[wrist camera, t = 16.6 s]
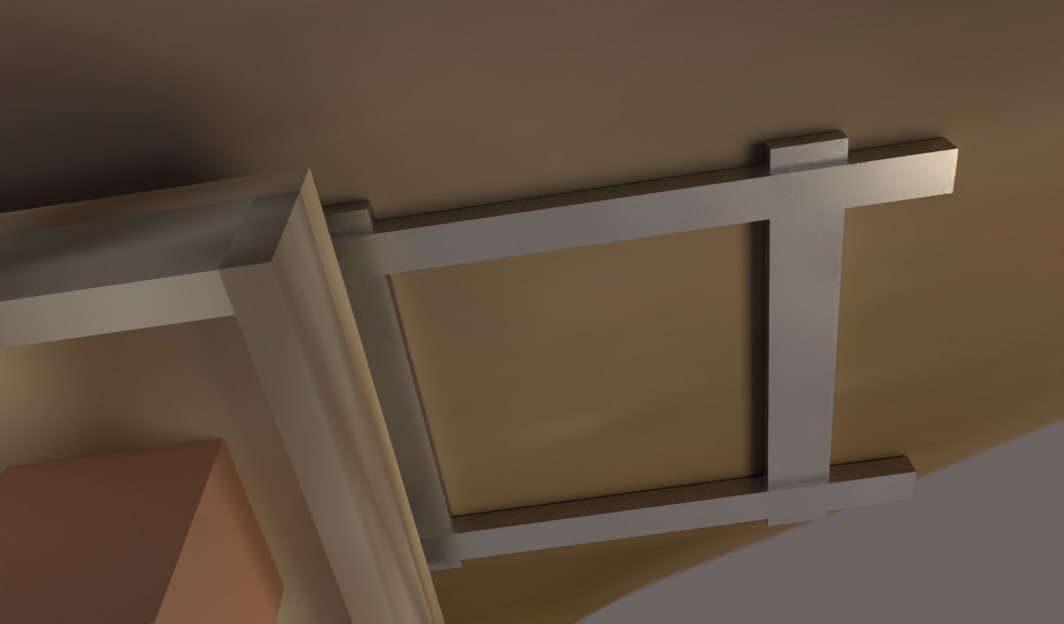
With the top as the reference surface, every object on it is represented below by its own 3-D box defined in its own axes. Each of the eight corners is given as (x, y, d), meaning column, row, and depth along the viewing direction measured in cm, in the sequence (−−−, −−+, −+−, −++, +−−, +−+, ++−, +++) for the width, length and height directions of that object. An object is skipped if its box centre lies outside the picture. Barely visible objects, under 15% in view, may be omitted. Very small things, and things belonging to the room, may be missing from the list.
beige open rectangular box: (321, 136, 17) (270, 261, 13) (458, 620, 25) (453, 796, 21) (-202, 214, 18) (-414, 362, 13) (93, 668, 26) (17, 850, 21)
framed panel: (950, 91, 18) (998, 126, 17) (900, 509, 25) (931, 566, 23) (-341, 284, 19) (-420, 335, 17) (-64, 638, 26) (-102, 701, 24)
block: (223, 438, 18) (154, 622, 14) (284, 586, 20) (239, 777, 17) (7, 466, 18) (-118, 657, 14) (93, 610, 21) (5, 805, 17)
